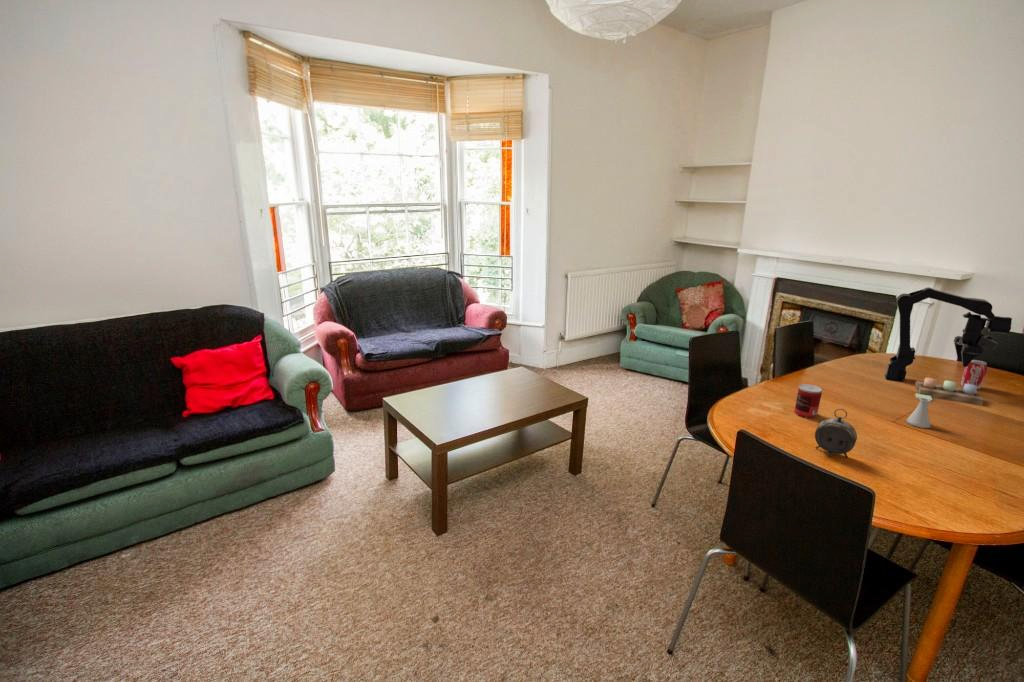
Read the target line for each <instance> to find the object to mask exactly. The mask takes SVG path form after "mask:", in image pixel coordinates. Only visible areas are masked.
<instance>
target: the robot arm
mask: <svg viewBox="0 0 1024 682" xmlns="http://www.w3.org/2000/svg"><path fill="white" fill-rule="evenodd" d="M927 299H932V300H937V301H940V302H943V303H947V304H951V305H955V306H959V307H961V308H963V309H966V310H968V311H967V313H964V314H962V317H963V318H965V319H967V320H966V324H965V326H964V329H962V331H961V332H962V335H961V336H960V335H958V336H955V337H954V340H953V345H954V348H955V354H956V357H957V361H958V362H962V367H964V368H965V367H967V366H968V365H969V363H970V362H971V361H972V360H974V358H976V357H980V356H983V355H984V353H985V349H984V348H983V346H984V347H985V348H988V349H989V350H991V351H993V350H995V348H996V347H997V346H999V343H998V342H996V341H995V340H993V336H990V335H989V334H988V335H985V334H984V333H983V332H984V329H986V330H988V332H990V333H995V334H996V333H998V334H1005V335H1008V334H1009V333H1010V331H1011V329H1012V322H1013V321H1012V320H1013V318H1012V317H1008V316H1005V317H1004V316H998V315H997V316H996V315H995V314H994V312H993V305H992V303H990V302H989V301H988V300H986V299H983V298H976V297H964V296H960V295H956V294H952V293H949V292H946V291H941V290H938V289H934V288H932V287H925V288H923V289H920V290H915V291H912V292H909V293H901V294H900V295H898V296H897V297H896V306H897V309H898V313H899V344H898V348H897V350H896V355H894V356H892V357H890V358H889V362H890V363H888V364H887V367H886V371H885V372H886V373H885V374H884V377H885V380H889V381H894V382H895V381H896V382H900V383H903V382H904V381H905V379H906V375H907V369H906V368H907V367H908V366H910V365H912V364H913V363H914V360H916V358H915V353H916V349H915V347H911V315H912V311H913V310H914V309H913V307H914V304H918V303H920V302H922V301H925V300H927ZM973 313H974V314H973ZM981 316H984V317H981Z"/></svg>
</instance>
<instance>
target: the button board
mask: <svg viewBox="0 0 1024 682" xmlns="http://www.w3.org/2000/svg"><path fill="white" fill-rule="evenodd" d="M923 383H924V381H919V380H916V381H915V385H914V387H915V389H916V391H917V394H923V395H929V396H931V398H933V399H934V398H935V399H942V400H946V401H947V400H948V401H953V402H959V403H965V404H971V405H975V406H977V405H978V406H983V405H984V404H983V402H984V398H983V397H982V396H981V395H980V393H979V392H978V391H977V390H976V393H975V396H974V395H967V394H963V393H962V391H963V387H957V386H956V388H955V392H949V391H943V390H942V388H943V384H940V383H936V386H935V389H930V388H924V387H923Z"/></svg>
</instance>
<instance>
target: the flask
mask: <svg viewBox="0 0 1024 682" xmlns="http://www.w3.org/2000/svg"><path fill="white" fill-rule="evenodd" d="M918 400H919V403H918V404H917V407H916V408H915V409H914V410H913V412H912V413H911V414H910V415H909V417H907V418H906V423H907V424H909V425H911V426H913V427H916V428H921V429H931V421H930V417H929V404H930V403H931V401H930V400H929V399H926V398H919V399H918Z"/></svg>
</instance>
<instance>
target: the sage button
mask: <svg viewBox="0 0 1024 682" xmlns="http://www.w3.org/2000/svg"><path fill="white" fill-rule="evenodd" d="M942 385H943V388H942V390H943V391H949V392H955V388H956V387H957V385H958V384H957V382H956V381H952V380H944V382H943V384H942Z"/></svg>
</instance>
